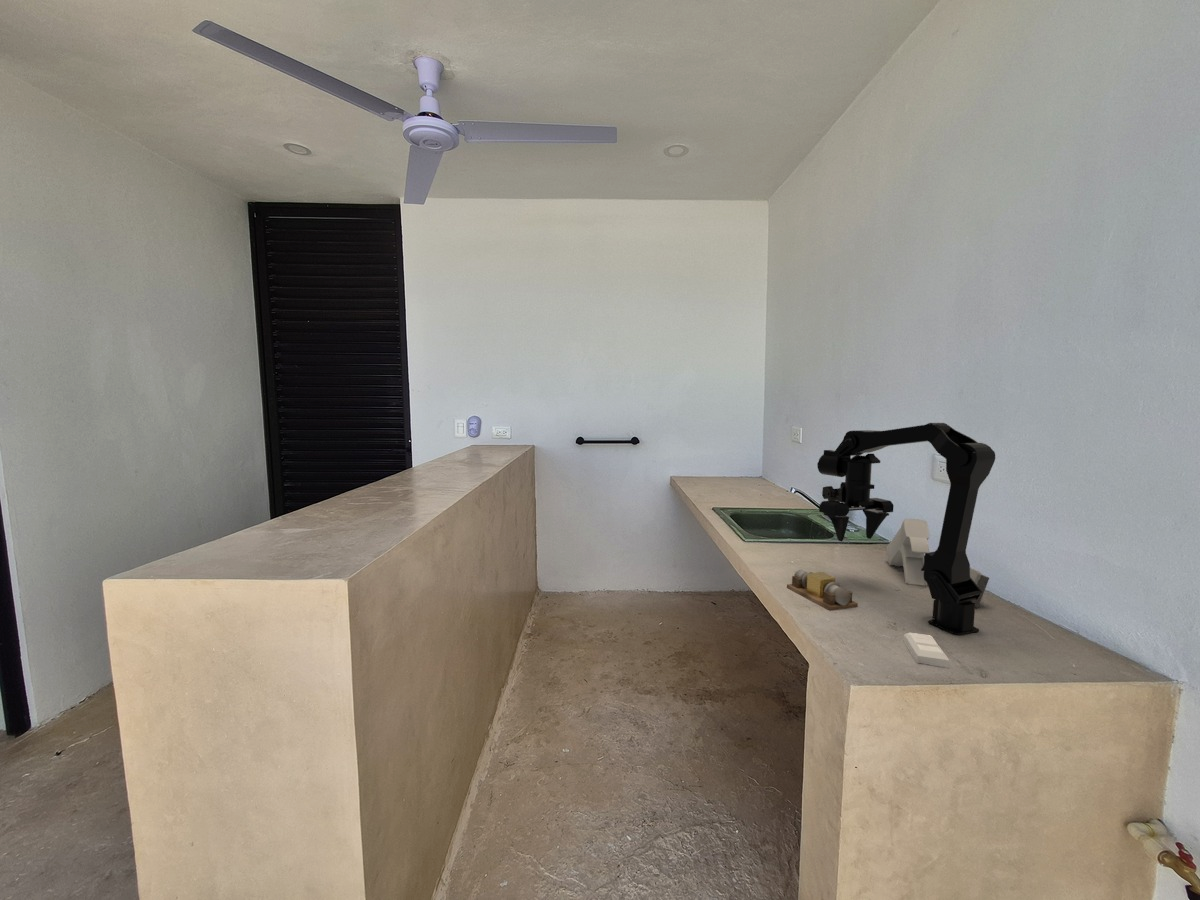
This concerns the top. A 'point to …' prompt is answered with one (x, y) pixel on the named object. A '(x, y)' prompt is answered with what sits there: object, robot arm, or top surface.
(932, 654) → the soap bar
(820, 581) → the yellow hollow block
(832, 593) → the pipe cradle
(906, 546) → the beige angular piece
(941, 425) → the robot arm
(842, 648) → the top surface
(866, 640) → the top surface
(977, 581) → the electrical switch
